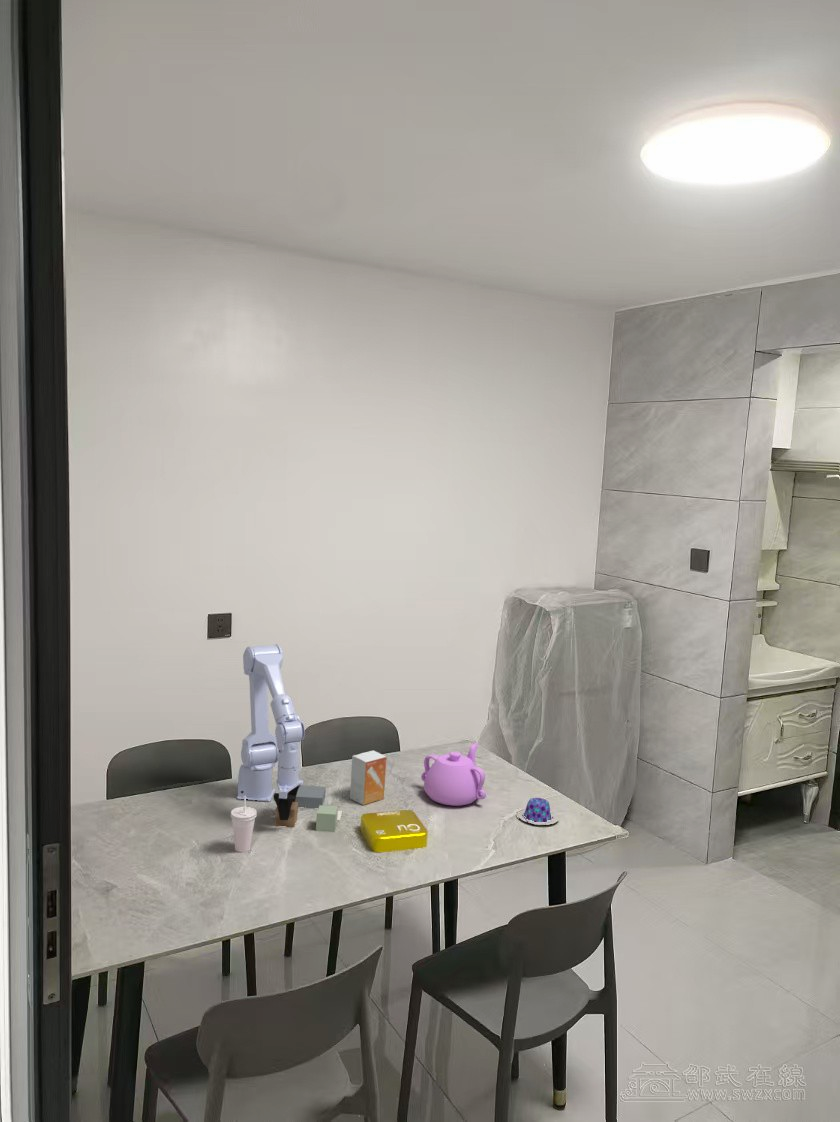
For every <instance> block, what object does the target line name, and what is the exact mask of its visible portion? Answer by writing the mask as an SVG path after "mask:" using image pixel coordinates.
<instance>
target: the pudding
mask: <svg viewBox="0 0 840 1122" xmlns="http://www.w3.org/2000/svg"><path fill="white" fill-rule="evenodd" d="M525 808H526V809H525V812H524V814H523V815H524V816H525V817H526V818H525V819H528V820H532V821H534V822H547V820H551V819H552V817H551V812H550V811H551V807H550V802H549V801H548V800H546V799H545V798H540V797H533V798H530V799H529V800H527V804H526V807H525ZM521 809H522V808H521ZM521 809H519V810H521ZM516 817H517V818H518V816H517V815H516Z"/></svg>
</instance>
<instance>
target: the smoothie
mask: <svg viewBox="0 0 840 1122" xmlns="http://www.w3.org/2000/svg"><path fill="white" fill-rule="evenodd" d="M257 816H258V814H257V810H256V808H253V807H250V806H247V800H246V796H244V800H243V806H238V807H235V808H233V809H231V812H230V819H231V821H232V831H233V832H232V833H233V840H234V841H233V843H234V850H235V851H236V852H238V853H246V852H249V851H250V849H251V845H252V839H253V833H254V826H255V820H256V817H257Z"/></svg>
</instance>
